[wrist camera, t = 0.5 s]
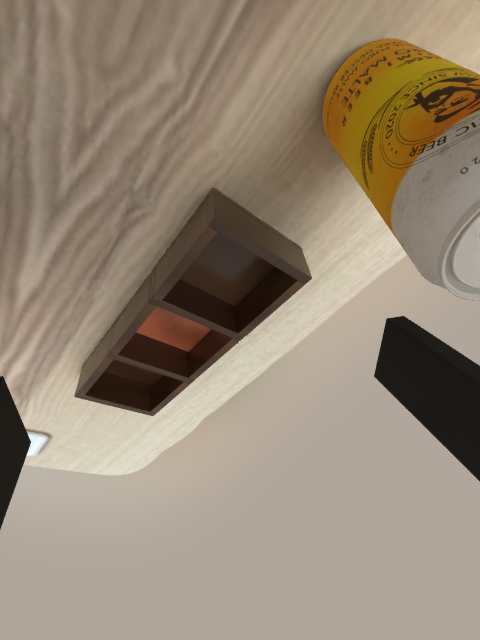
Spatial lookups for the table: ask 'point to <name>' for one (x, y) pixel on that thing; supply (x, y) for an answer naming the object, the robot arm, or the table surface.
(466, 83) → the beer can
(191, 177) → the table surface
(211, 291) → the rack
